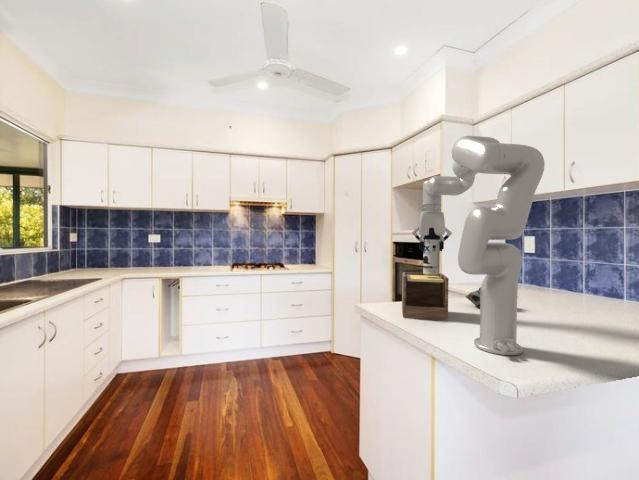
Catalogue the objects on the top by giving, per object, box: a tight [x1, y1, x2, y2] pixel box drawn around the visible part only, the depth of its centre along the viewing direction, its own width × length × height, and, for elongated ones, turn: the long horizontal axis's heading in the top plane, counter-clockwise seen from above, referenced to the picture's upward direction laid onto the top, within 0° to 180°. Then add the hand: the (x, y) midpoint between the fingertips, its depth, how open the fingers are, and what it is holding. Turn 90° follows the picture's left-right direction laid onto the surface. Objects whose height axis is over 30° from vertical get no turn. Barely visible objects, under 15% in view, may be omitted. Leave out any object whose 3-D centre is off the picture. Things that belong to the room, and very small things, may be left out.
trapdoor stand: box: [401, 271, 449, 322], centre depth 129 cm, size 17×17×17 cm
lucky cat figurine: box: [465, 286, 481, 308], centre depth 144 cm, size 15×12×14 cm
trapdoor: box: [406, 274, 444, 283], centre depth 129 cm, size 14×14×1 cm
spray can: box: [422, 228, 441, 275], centre depth 128 cm, size 7×7×20 cm
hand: (431, 250), depth 128 cm, fingers open, 6 cm apart
